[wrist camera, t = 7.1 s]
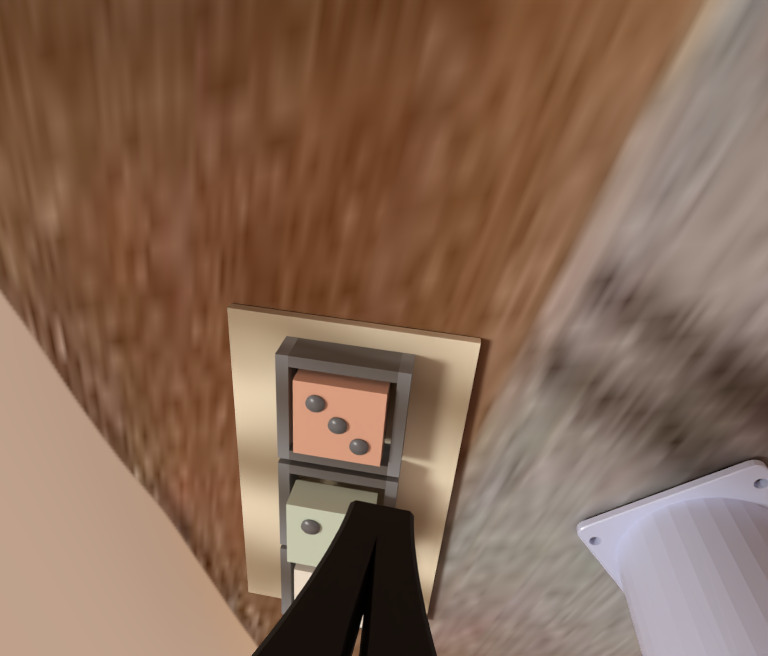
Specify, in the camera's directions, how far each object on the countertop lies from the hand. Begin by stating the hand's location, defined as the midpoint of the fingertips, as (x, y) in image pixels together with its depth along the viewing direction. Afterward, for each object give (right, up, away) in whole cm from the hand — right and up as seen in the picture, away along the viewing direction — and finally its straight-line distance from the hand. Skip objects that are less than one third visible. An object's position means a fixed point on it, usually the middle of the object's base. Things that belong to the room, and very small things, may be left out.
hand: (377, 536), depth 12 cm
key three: (-1, +2, +10) cm, 10 cm away
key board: (-2, -3, +13) cm, 14 cm away
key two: (-2, -4, +12) cm, 12 cm away
